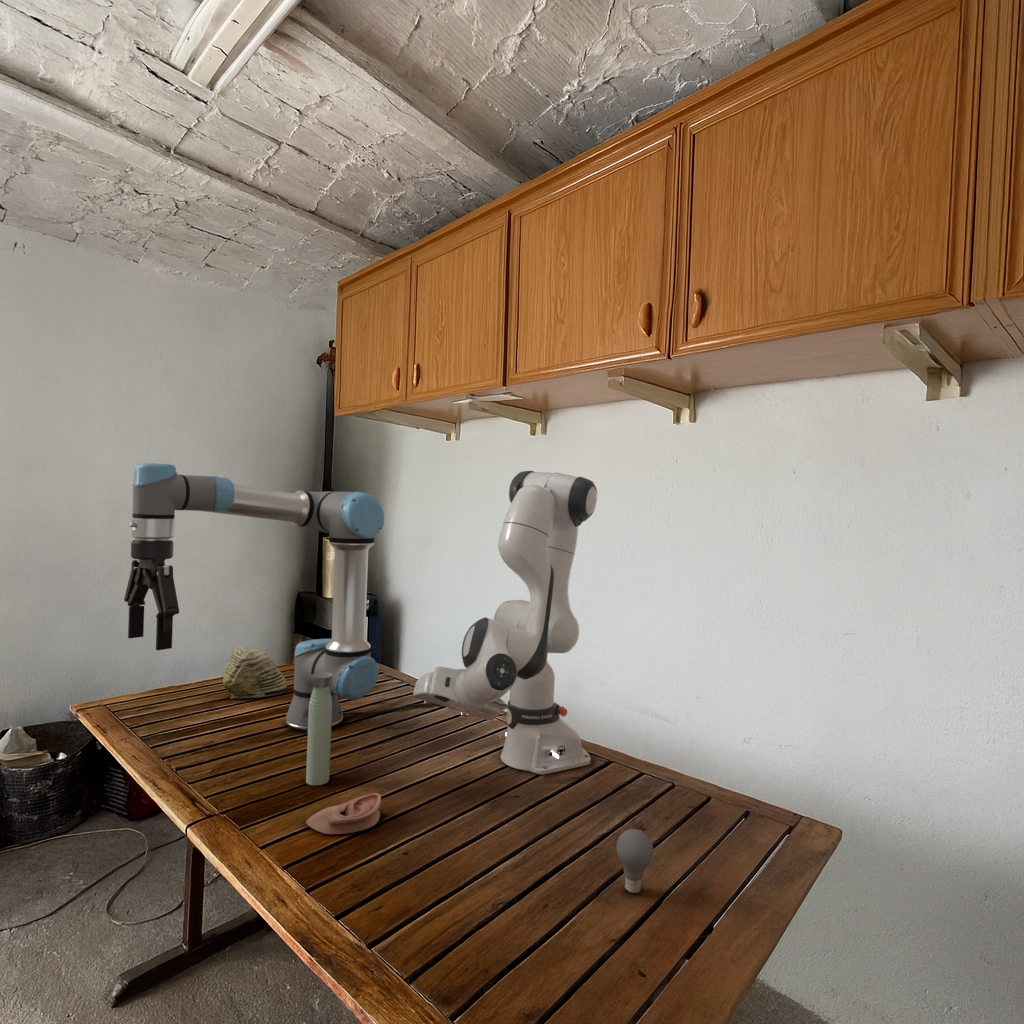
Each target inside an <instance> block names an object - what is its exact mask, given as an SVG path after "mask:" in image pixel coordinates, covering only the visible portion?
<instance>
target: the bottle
mask: <svg viewBox="0 0 1024 1024" xmlns="http://www.w3.org/2000/svg"><path fill="white" fill-rule="evenodd" d="M331 722H332V700H331V693H330V690H329V687H325V688H315V687H313V690H312V694H311V698H310V701H309V714H308V732H307V741H306V743H307V744H306V766H305V767H306V771H305V783H306V784H307V785H308V786H309V785H310V786H322V785H325V784H327V783H328V782H329V781H330V772H331V771H330V770H331V748H332V747H331V746H332V744H331V743H332V729H331Z"/></svg>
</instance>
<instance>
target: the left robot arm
mask: <svg viewBox="0 0 1024 1024" xmlns="http://www.w3.org/2000/svg"><path fill="white" fill-rule="evenodd" d="M176 467H177V466H175V465H174V464H167V463H156V462H139V463H137V464H136V465H135V466H134V471H133V477H132V484H131V487H132V515H131V520H132V521H131V522H130V523H129V527H130V528H131V537H132V538H134V539H133V540H132V541H130V557H131V559H132V561H131V566H130V568H131V569H130V573H129V574H130V575H129V578H128V582H127V586H126V590H125V594H124V598H123V600H124V602H125V603H127V606H128V621H127V622H128V626H127V627H128V628H127V639H135V638H136V639H137V638H143V637H144V629H145V605H146V601H145V599H146V596H147V593H148V592H149V590H151V591H152V595H153V598H154V601H155V605H156V608H157V611H158V612H157V613H156V614H155V618H156V630H155V631H156V633H155V650H156V651H162V650H170V649H173V627H174V625H173V623H174V616H175V615H179V614H180V606H179V602H178V598H177V597H178V595H177V590H176V585H175V580H174V566H173V565H166V562H165V561H166V560H170V559H172V558H173V557H174V543H175V542H174V541H173V540H172V539H173V538H174V537H175V522H176V521H175V518H176V517H175V516H176V515H175V512H176V511H192V512H193V511H195V512H196V511H198V512H204V513H206V512H207V513H214V514H222V515H231V516H241V517H247V518H256V519H263V520H264V519H265V520H273V521H274V520H275V521H282V522H290V524H291V525H292V526H294V527H301V528H307V529H311V530H314V531H318V532H322V533H325V534H329V535H328V543H329V544H330V546H331V547H332V548H333V549H334V561H333V562H334V565H333V566H334V567H333V589H332V590H333V591H332V621H331V623H332V624H331V638H318V639H308V640H304V641H300V642H299V643H297V645H296V646H295V650H294V655H293V657H294V672H293V673H294V674H293V695H292V696H293V697H292V699H291V702H290V704H289V708H288V711H287V713H286V715H285V726H286V728H287V729H289V730H291V731H294V732H295V731H296V732H301V733H308V714H309V701H310V698H311V694H312V690H313V687H312V686H311V685H310V682H311V675H312V674H314V673H320V672H326V673H331V674H332V677H333V680H332V685H331V686H329V690H330V693H331V700H332V722H331V730H332V729H335V728H337V727H339V726H340V725H342V723H343V722H344V716H371V715H378V714H384V713H389V712H394V711H398V710H399V711H400V710H405V709H411V708H417V707H426V706H427V707H428V706H439V705H438V704H435V703H432V704H431V705H427V704H424V702H421V703H413V704H407V705H402V706H401V705H400V706H397V707H391V708H386V709H381V710H374V711H351V712H343V709H342V706H341V702H340V699H339V698H341V699H342V700H343V699H344V700H348V701H349V700H350V701H357V700H360V699H362V698H364V697H365V696H367V695H368V694H370V692H371V690H372V689H374V687H375V685H376V683H377V681H378V678H379V674H380V673H379V671H380V670H379V669H380V668H379V665H378V663H377V662H376V660H375V659H374V658H373V657H371V648H372V646H371V643H370V642H368V640H366V623H367V622H366V621H367V595H368V594H367V593H368V569H369V567H368V566H369V550H370V548H371V547H372V546H374V545H375V537H376V536H377V535H379V534H380V531H381V530H383V527H384V524H385V512H384V509H383V506H382V505H381V503H380V501H378V498H376V497H375V496H373V495H372V494H370V493H366V492H361V491H337V490H336V491H335V490H333V491H332V490H330V491H307V490H306V491H305V490H296V491H295V492H289V491H288V492H287V491H281V490H275V489H269V488H261V487H255V486H249V485H242V484H235V483H233V482H232V480H231V479H229V478H228V477H222V476H217V475H213V476H211V475H191V474H190V475H189V474H188V475H187V474H179V473H178V472H177V468H176Z"/></svg>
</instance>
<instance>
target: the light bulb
mask: <svg viewBox="0 0 1024 1024" xmlns="http://www.w3.org/2000/svg"><path fill="white" fill-rule="evenodd" d="M615 849H616V854H617V857H618V859H619V861H620V863H621V865H622V867H623V873H624V874H623V875H624V876H625V878H624V888H625V890H627V891H628V892H630V893H634V894H635V893H639V892H640V891H641V889H642V887H641V886H642V879H643V877H644V875H645V871H646V868H647V867H648V866H649V864H650V863H651V861H652V859H653V855H654V847H653V843H652V841H651V838H649V836H648V835H647V834H646V833H645V832H643V831H642V830H641V829H636V828H629V829H627V830H625V831H623V832H622V833H621V834H620V835H619V837H618V839H617V841H616V847H615Z"/></svg>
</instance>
